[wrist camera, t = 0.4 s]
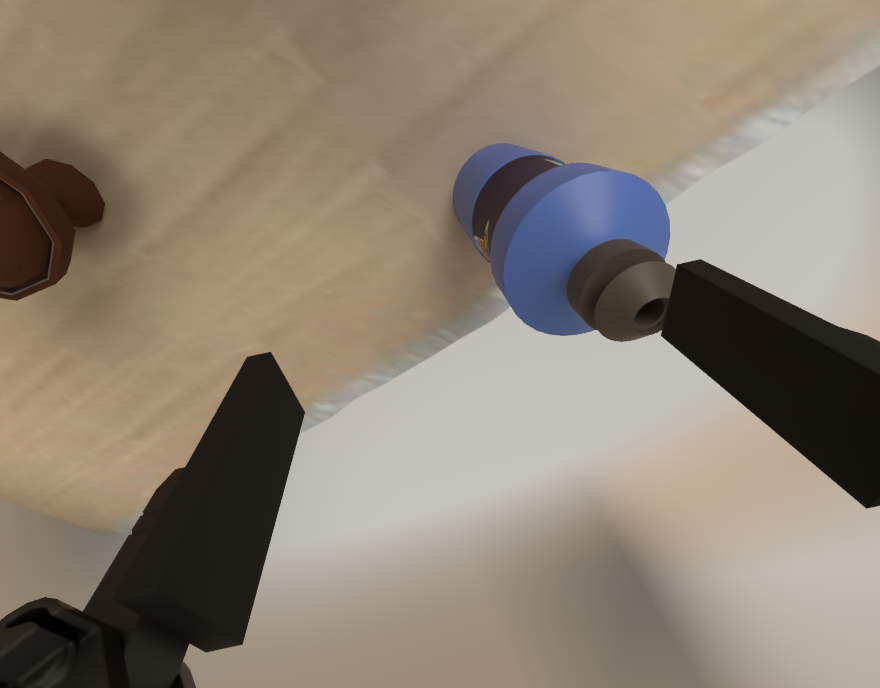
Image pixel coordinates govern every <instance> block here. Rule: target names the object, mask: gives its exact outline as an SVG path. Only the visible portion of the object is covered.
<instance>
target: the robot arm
mask: <svg viewBox="0 0 880 688" xmlns="http://www.w3.org/2000/svg"><path fill="white" fill-rule="evenodd" d="M661 336H662V337H663V338H664V339H666V340H667V341H668V342H669V343H670V344H672V345H673V346H674V347H675V348H676V349H677V350H679V351H680V352H681V353H682V354H683V355H684V356H686V357H687V358H688V359H689V360H690V361H692V362H693V363H694V364H695V365H696V366H698V367H699V368H700V369H701V370H702V371H704V372H705V373H706V374H707V375H708V376H709V377H711V378H712V379H713V380H714V381H715V382H717V383H718V384H719V385H720V386H721V387H723V388H724V389H725V390H726V391H727V392H728V393H730V394H731V395H732V396H733V397H734V398H736V399H737V400H738V401H739V402H740V403H742V404H743V405H744V406H745V407H746V408H748V409H749V410H750V411H751V412H752V413H754V414H755V415H756V416H757V417H758V418H760V419H761V420H762V421H763V422H764V423H765V424H767V425H768V426H769V427H770V428H771V429H772V430H774V431H775V432H776V433H777V434H778V435H780V436H781V437H782V438H783V439H784V440H786V441H787V442H788V443H789V444H790V445H792V446H793V447H794V448H795V449H796V450H798V451H799V452H800V453H801V454H802V455H803V456H805V457H806V458H807V459H808V460H810V461H811V462H812V463H813V464H814V465H815V466H816V467H818V468H819V469H820V470H821V471H822V472H824V473H825V474H826V475H827V476H828V477H830V478H831V479H832V480H833V481H834V482H836V483H837V484H838V485H839V486H840V487H842V488H843V489H844V490H845V491H846V492H847V493H849V494H850V495H851V496H852V497H853V498H855V499H856V500H857V501H858V502H859V503H860V504H862V505H863V506H864V507H865V508H871V507H876V506H880V342H879V341H878V340H875V339H873V338H871V337H869V336H867V335H864V334H861V333H858V332H854V331H851V330H848V329H844V328H841V327H838V326H836V325H834V324H831V323H829V322H827V321H825V320H823V319H821V318H819V317H817V316H815V315H813V314H811V313H809V312H807V311H805V310H803V309H801V308H799V307H797V306H795V305H793V304H791V303H789V302H787V301H784V300H783V299H780V298H778V297H776V296H774V295H772V294H770V293H768V292H766V291H764V290H762V289H760V288H758V287H756V286H754V285H752V284H750V283H748V282H746V281H744V280H742V279H740V278H738V277H735V276H733V275H732V274H729V273H727V272H725V271H723V270H721V269H719V268H717V267H715V266H713V265H711V264H709V263H707V262H705V261H703V260H695V261H691V262H686V263H682V264H677V267H676V272H675V276H674V280H673V285H672V289H671V294H670V298H669V302H668V307H667V311H666V316H665V320H664V324H663V329H662V333H661ZM304 414H305V412H304V410H303V408H302V406H301V405H300V403H299V401H298V399H297V397H296V396H295V394H294V392H293V390H292V389H291V387H290V385H289V383H288V381H287V380H286V378H285V376H284V374H283V373H282V371H281V369H280V367H279V365H278V364H277V362H276V360H275V358H274V356H273V355H272V353H271V352H268V353H263V354H258V355H254V356H249V357H247V358H246V360H245V362H244V363H243V365H242V367H241V369H240V370H239V372H238V374H237V376H236V378H235V379H234V381H233V383H232V385H231V387H230V388H229V390H228V392H227V394H226V396H225V397H224V399H223V401H222V403H221V404H220V406H219V408H218V410H217V412H216V413H215V415H214V417H213V419H212V421H211V422H210V424H209V426H208V428H207V430H206V431H205V433H204V435H203V437H202V438H201V440H200V442H199V444H198V446H197V447H196V449H195V451H194V453H193V455H192V456H191V458H190V460H189V462H188V463H187V465H186V467H184V468H179V469H175V470H174V472H173V473H172V474H171V475H170V476H169V477H168V478H167V479H166V480H165V481H164V482H163V483H162V484H161V485H160V486H159V487H158V488H157V489H156V491H155V493H154V494H153V496H152V498H151V499H150V501H149V503H148V504H147V506H146V508H145V509H144V511H143V513H144V514H143V516H140V517H139V519H138V521H137V522H136V524H135V526H134V527H133V529H132V534H131V535H129V536H128V537H127V539H126V541H125V542H124V544H123V546H122V547H121V549H120V551H119V552H118V554H117V556H116V557H115V559H114V561H113V563H112V564H111V566H110V567H109V569H108V571H107V572H106V574H105V576H104V577H103V579H102V581H101V582H100V584H99V586H98V587H97V589H96V591H95V592H94V594H93V596H92V597H91V599H90V601H89V602H88V604H87V605H86V607H85V609H84V610H83V612H82V611H80V610H78V609H76V608H74V607H72V606H70V605H68V604H66V603H64V602H62V601H60V600H58V599H53V598H47V597H44V598H41V599H38V600H35V601H32V602H29V603H26V604H25V605H23V606H21V607H20V608H18V609H16V610H15V611H13V612H11V613H10V614H8V615H6V616H5V617H4V618H3V619H2V620H0V688H196V687H195V683H194V680H193V677H192V674H191V671H190V669H189V668H188V666H187V665H186V664H185V662H183V659H184V656H185V654H186V651H187V648H188V645H189V643H190V644H192V645H193V646H195V647H197V648H199V649H201V650H203V651H204V652H210V651H215V650H219V649H223V648H228V647H233V646H237V645H242V644H243V641H244V637H245V633H246V630H247V626H248V622H249V618H250V615H251V611H252V607H253V604H254V600H255V596H256V592H257V589H258V585H259V581H260V577H261V574H262V570H263V566H264V563H265V559H266V555H267V551H268V548H269V544H270V540H271V537H272V533H273V529H274V526H275V522H276V518H277V514H278V511H279V507H280V503H281V500H282V496H283V492H284V488H285V485H286V481H287V477H288V473H289V470H290V466H291V462H292V459H293V455H294V451H295V447H296V444H297V440H298V436H299V433H300V429H301V425H302V422H303V418H304Z"/></svg>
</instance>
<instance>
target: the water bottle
mask: <svg viewBox="0 0 880 688" xmlns="http://www.w3.org/2000/svg"><path fill="white" fill-rule="evenodd" d="M453 203H454V208H455V212H456V215H457V217H458V220H459V221H460V223H461V224H462V226H463V228H464V229H465V231H466V232H467V234H468V235H469V237H470V238H471V240H472V242H473V243H474V245H475V246H476V248H477V249H478V251H479V252H480V254H481V255H482V256H483V257H484V258H485V259H486V260H487V261H488V262H489V263H491V269H492V273H493V275H494V278H495V281H496V283H497V285H498V287H499V288H500V290H501V291H502V293H503V295H504V296H505V298H506V299H507V301H508V303H509V304H510V306H511V307H512V309H513V310H514V312H515V313H516V315H517V316H518V317H519V318H520V319H521V320H522V321H523V322H524V323H526V324H527V325H529V326H530V327H532V328H534V329H535V330H537V331H540V332H544V333H547V334H552V335H561V336H566V335H577V334H582V333H586V332H590V331H593V330H598V331H599V332H600V333H601V334H602V335H603V336H604V337H606V338H608V339H610V340H613V341H621V342H623V341H631V340H636V339H639V338H642V337H645V336H648V335H652V334H654V333H657V332H659V331H661V330H662V329H663V324H664V320H665V316H666V311H667V307H668V302H669V298H670V294H671V289H672V285H673V280H674V276H675V272H676V269H675V268H674V267H673V266H671V265H669V264H667V263H666V262H665V260H664V259H665V257H666V254H667V250H668V245H669V239H670V224H669V223H670V222H669V217H668V213H667V209H666V206H665V204H664V202H663V200H662V199H661V197H660V195H659V193H658V192H657V191H656V190H655V189H654V188H653V187H652V186H651V185H650V184H649V183H648V182H646V181H644V180H643V179H641V178H639V177H637V176H635V175H633V174H629V173H625V172H621V171H618V170H614V169H610V168H606V167H602V166H598V165H593V164H589V163H571V164H567V165H565V164H564V163H563V162H562V161H560V160H558V159H556V158H554V157H552V156H550V155H546V154H543V153H540V152H536V151H533V150H529V149H525V148H522V147H518V146H514V145H510V144H495V145H491V146H488V147H486V148H484V149H482V150H479V151H478V152H477V153H475V154H474V155H473V156H472V157H471V158H470V159H469V160H468V161H467V162H466V163H465V164H464V166H463V167H462V169H461V171H460V172H459V175H458V177H457V180H456V182H455V187H454V192H453Z"/></svg>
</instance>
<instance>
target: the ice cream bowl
mask: <svg viewBox="0 0 880 688" xmlns="http://www.w3.org/2000/svg"><path fill="white" fill-rule="evenodd" d="M104 205H105V203H104V201H103V199H102V197H101V196H100V194H99V192H98V190H97V188H96V186H95V184H94V182H92V181H91V180H90V179H88V178H87V177H86V176H84V175H83V174H82V173H81V172H79V171H78V170H77V169H75V168H74V167H73V166H72V165H68V164H64V163H60V162H56V161H52V160H48V159H45V160H43V161H41V162H39V163H37V164H34V165H32V166H30V167H28V168H27V169H26V170H25V169H24V168H22V167H21V166H19V165H18V164H17V163H15V162H14V161H13V160H11V159H10V158H8V157H7V156H6V155H4V154H3V153H2V152H0V298H3V299H9V300H16V301H17V300H19V299H22V298H24V297H26V296H29V295H31V294H33V293H36V292H38V291H40V290H43V289H45V288H47V287H50V286H52V285H54V284H56V283H57V282H58V281H59V280H60V279H61V278H62V277H63V276H64V275H65V274H66V273H67V270H68V267H69V264H70V261H71V255H72V249H73V243H74V238H75V232H76V230H75V228H74V227H73V226H77V227H87V226H90V225H92V224H94V223H96V222H99V221H101V220H102V215H103V210H104Z"/></svg>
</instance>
